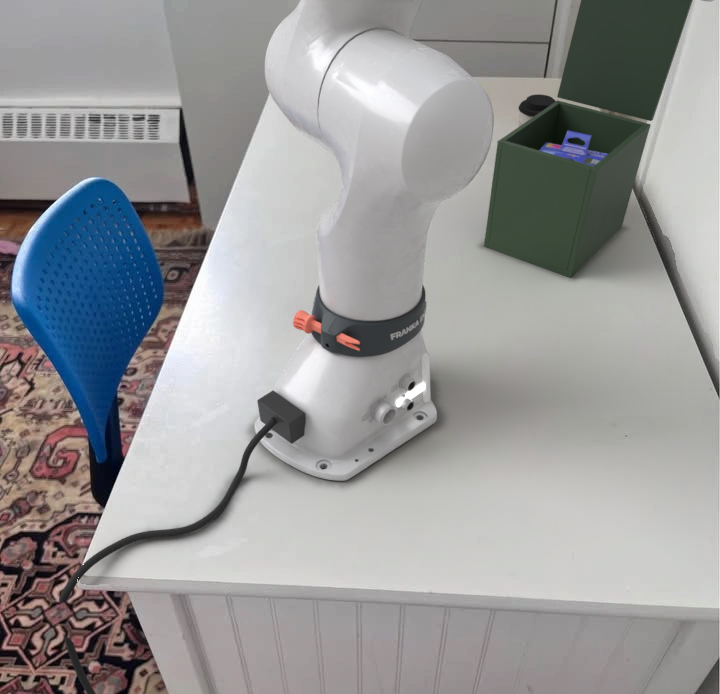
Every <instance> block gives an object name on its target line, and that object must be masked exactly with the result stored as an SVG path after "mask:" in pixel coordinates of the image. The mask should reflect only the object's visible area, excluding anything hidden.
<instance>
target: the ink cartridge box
mask: <svg viewBox="0 0 720 694" xmlns="http://www.w3.org/2000/svg"><path fill="white" fill-rule="evenodd" d="M591 136H592V135H587V134H583V133H578V132H573V131H569V130H567V133H566V136H565V138H564V141H563V143H562V145H558V144H553V143H548V142H546V143H545V144H544V145H543V147H542V148H541V149H540V150H539V151H543V152H546V153H550V154H553V155H556V156H560V157H563V158H567V159H570V160H574V161H577V162H580V163H584V164H587V165H591V166H593V167H594V166H595V165H596V164H597V163H598V162H600V161H601V160H602V159H603V158H604V157H606V156H607V155H608V154H607V153H602V152H596V151H591V150H588V147H589V144H590V140H591ZM569 138H579V139H581V140H583V141H584V142H585V145H583V146H581V145H577V144H571V143H568V139H569Z"/></svg>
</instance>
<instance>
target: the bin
mask: <svg viewBox="0 0 720 694" xmlns="http://www.w3.org/2000/svg"><path fill="white" fill-rule="evenodd" d="M555 101H556V102H555V103H553V104H552V105H550V106H549V107H547V108H546V109H544V110H543V111H541V112H540V113H538V114H537V115H535V116H534V117H533V118H531V119H530V120H528V121H527V122H525V123H524V124H522V125H521V126H519V125H518V127H516V128H515V129H513V130H512V131H511V132H509V133H508V134H506V135H505V136H503V137H502V138H500V139H499V140H497V143H496V144H497V145H496V152H495V160H494V168H493V175H492V182H491V189H490V197H489V204H488V211H487V212H488V213H487V219H486V228H485V235H484V242H483V247H485V248H488V249H490V250H494V251H496V252H499V253H502V254H504V255H507V256H509V257H513V258H515V259H518V260H521V261H524V262H527V263H529V264H532V265H535V266H537V267H540V268H542V269H545V270H548V271H551V272H554V273H555V274H560V275H563V276H565V277H568V278H572V277H573V276H574V275H575V274H576V273H578V272H579V270H580V269H581V268H582V267H583V266H585V265H586V263H588V262H589V261H590V260H591V259H592V258H593V257H594V256H595V255H596V254H597V253H598V252H599V251H600V250H601V249H602V248H603V247H604V246H605V245H606V244H607V243H608V242H609V241H610V240H611V239H612V238H613V237H614V236H615V235H616V234H617V233H618V232H619V231H620V230H621V229H622V227H623V224H624V220H625V217H626V214H627V209H628V206H629V204H630V199H631V196H632V192H633V189H634V188H633V187H634V185H635V182H636V177H637V175H638V171H639V167H640V164H641V161H642V157H643V153H644V149H645V146H646V143H647V140H648V135H649V132H650V129H651V125H652V124H651V123H647V122H643V121H640V120H636V119H631V118H629V117H628V118H627V117H623V116H620V115H616V114H612V113H608V112H604V111H600V110H596V109H592V108H588V107H585V106H580V105H577V104H573V103H569V102H566V101H561V100H555ZM567 130H569V131H573V132H578V133H583V134H587V135H592V136H591V140H590V144H589V147H588V150H591V151H596V152H602V153H607V154H608V155H607V156H606V157H604V158H603V159H602V160H601V161H600V162H598V163H597V164H596V165H595V166H594V167H593V166H591V165H587V164H584V163H580V162H577V161H574V160H570V159H567V158H563V157H560V156H556V155H553V154H550V153H546V152H543V151H539V150H540V149H541V148H542V147H543V145H544V144H545V143H546V142H548V143H553V144H558V145H562V143H563V141H564V138H565V136H566V133H567ZM568 143H571V144H577V145H581V146H583V145H585V142H584V141H583V140H581V139H579V138H569V139H568Z"/></svg>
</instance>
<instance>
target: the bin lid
mask: <svg viewBox="0 0 720 694" xmlns="http://www.w3.org/2000/svg"><path fill="white" fill-rule="evenodd" d="M692 4H693V0H580V4H579V7H578V11H577V14H576V19H575V23H574V28H573V31H572V35H571V39H570V42H569V43H570V44H569V47H568V50H567V51H568V52H567V55H566V60H565V64H564V68H563V72H562V76H561V79H560V84H559V87H558V92H557V96H556V97H557V98H559V99H563V100H566V101H570V102H574V103H578V104H582V105H585V106H590V107H594V108H598V109H601V110H606V111H610V112H614V113H618V114H621V115H625V116H629V117H632V118H637V119H641V120H644V121H645V120H646V121H649V122H653V121H654V118H655V115H656V111H657V109H658V106H659V103H660V100H661V96H662V94H663V91H664V88H665V84H666V82H667V78H668V76H669V73H670V70H671V67H672V64H673V60H674V58H675V55H676V51H677V49H678V45H679V43H680V40H681V37H682V33H683V30H684V28H685V25H686V21H687V19H688V16H689V13H690V10H691V7H692Z"/></svg>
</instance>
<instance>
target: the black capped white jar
mask: <svg viewBox="0 0 720 694" xmlns="http://www.w3.org/2000/svg"><path fill="white" fill-rule="evenodd" d="M556 101H557V100H555V98H553V97H552V96H549V95H548V94H547V95H546V94H531V95H529V96H526V99H524V100H522V101H521V102H520V103H519V106H518V107H517V108H518V111H519V115H518V127H519V126H521V125H522V124H524V123H525V122H527V121H528V120H530V119H531V118H533V117H534V116H535V115H537V114H538V113H540V112H541V111H543V110H544V109H546V108H547V107H549V106H550V105H552V104H553V103H555V102H556Z"/></svg>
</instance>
